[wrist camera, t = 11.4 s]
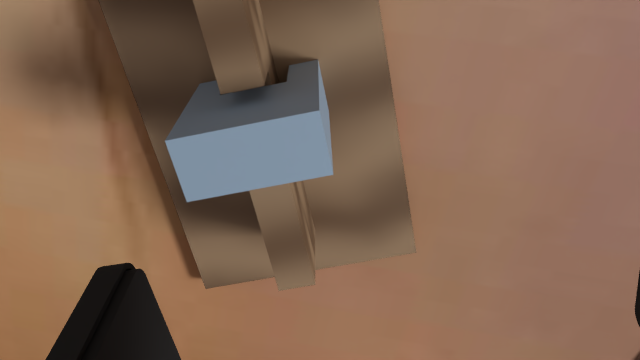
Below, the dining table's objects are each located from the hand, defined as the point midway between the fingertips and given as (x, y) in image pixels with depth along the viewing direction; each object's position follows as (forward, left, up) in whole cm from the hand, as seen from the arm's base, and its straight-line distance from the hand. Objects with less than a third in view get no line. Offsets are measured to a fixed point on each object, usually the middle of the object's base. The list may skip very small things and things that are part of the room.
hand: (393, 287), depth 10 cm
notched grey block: (+2, -5, -21) cm, 22 cm away
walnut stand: (+2, -5, -22) cm, 23 cm away
